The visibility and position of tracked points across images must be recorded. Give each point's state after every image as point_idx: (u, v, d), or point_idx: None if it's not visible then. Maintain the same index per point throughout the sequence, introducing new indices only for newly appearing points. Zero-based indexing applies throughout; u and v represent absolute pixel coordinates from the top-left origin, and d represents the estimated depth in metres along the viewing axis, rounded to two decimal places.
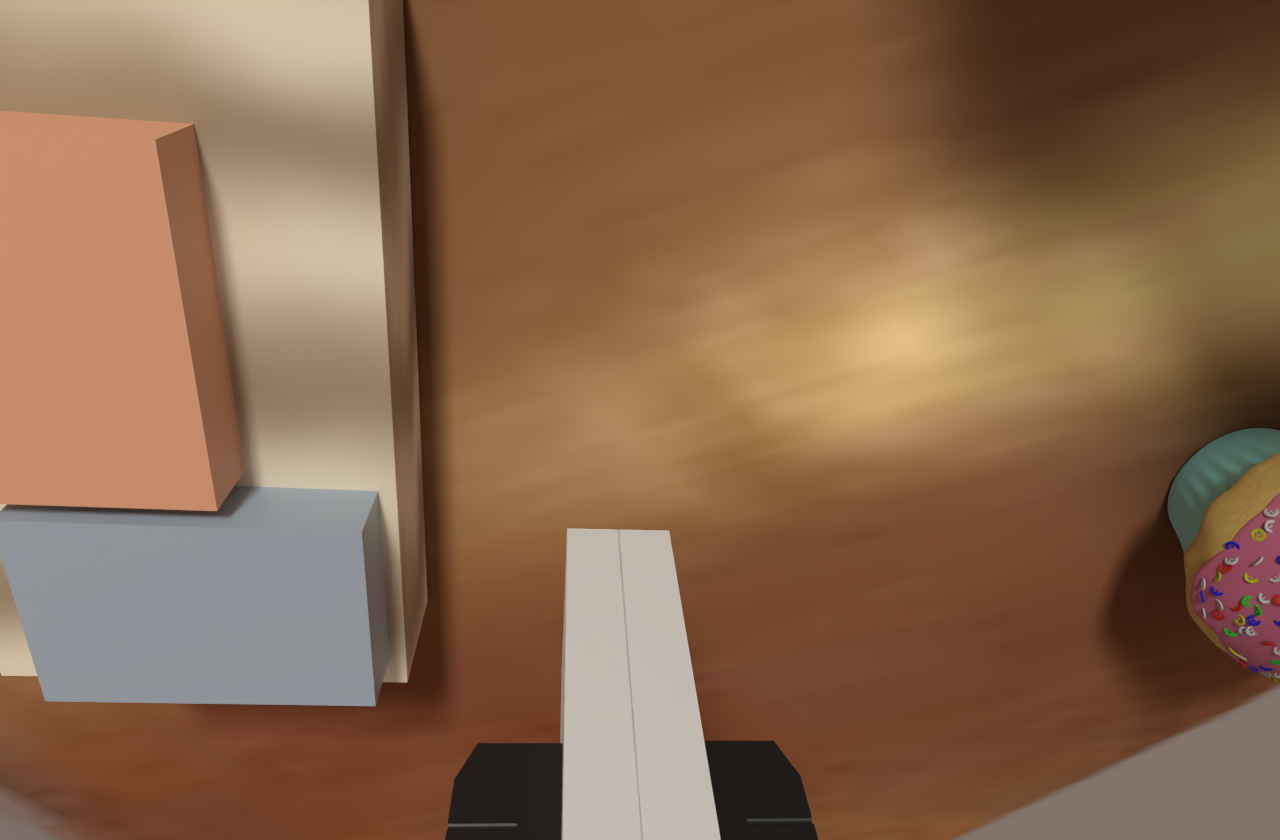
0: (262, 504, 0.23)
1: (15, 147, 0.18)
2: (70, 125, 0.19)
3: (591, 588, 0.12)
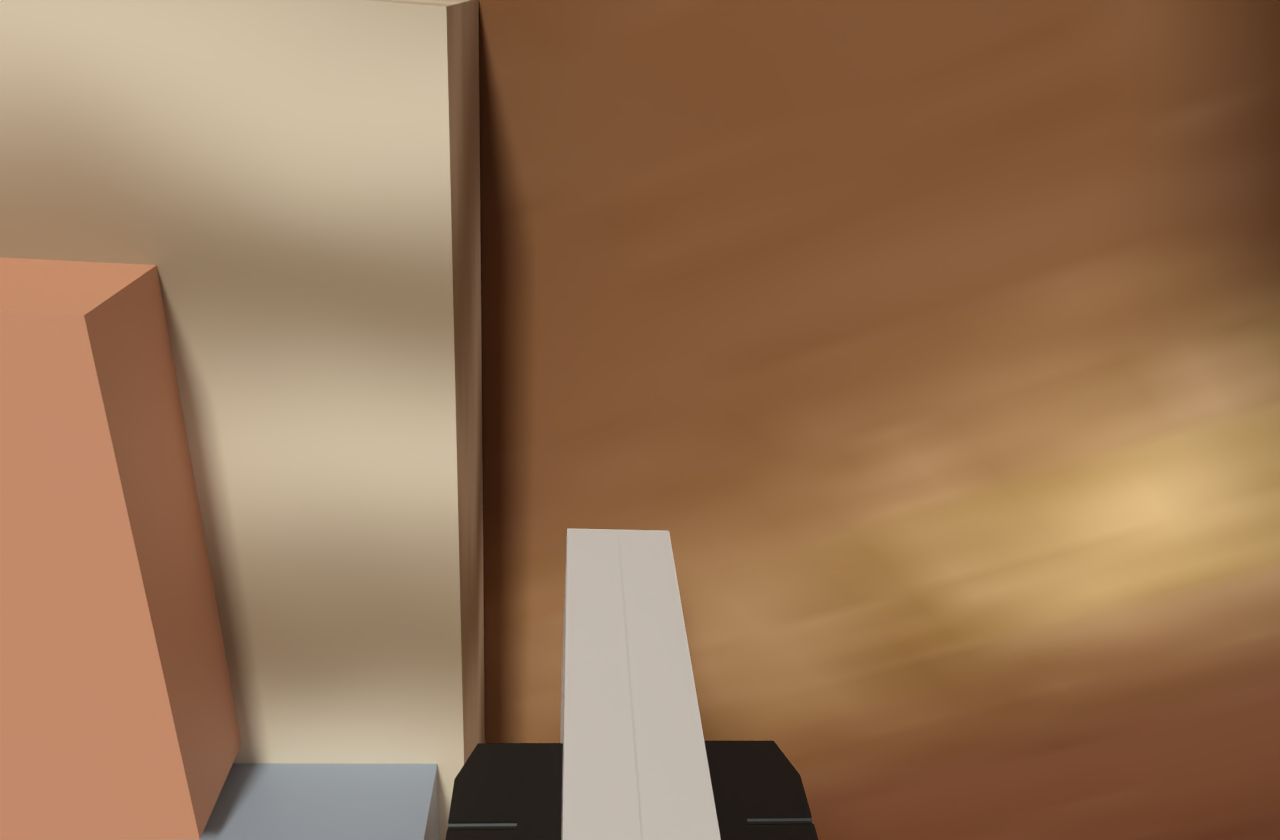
0: (268, 801, 0.16)
1: None
2: None
3: (591, 587, 0.12)
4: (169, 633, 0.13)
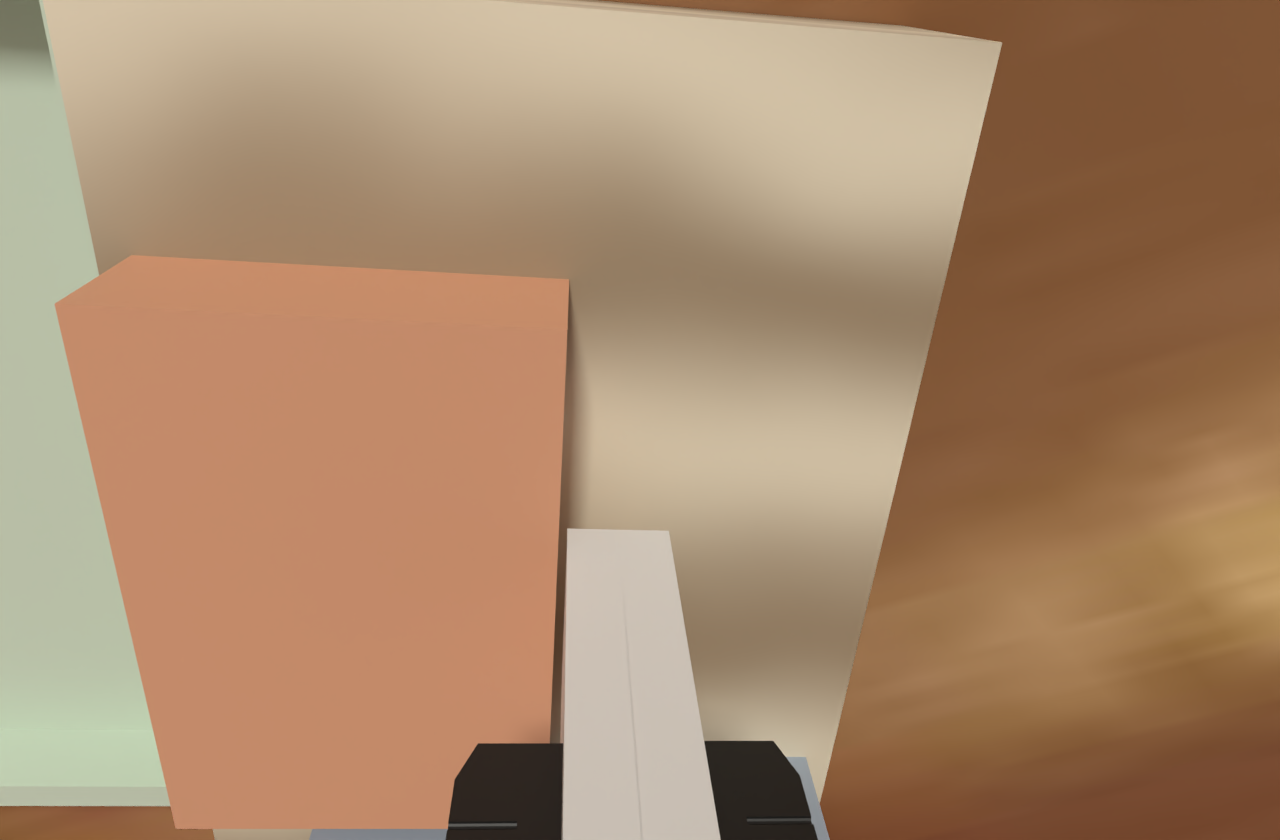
0: None
1: (338, 344, 0.11)
2: (407, 297, 0.11)
3: (591, 587, 0.12)
4: None
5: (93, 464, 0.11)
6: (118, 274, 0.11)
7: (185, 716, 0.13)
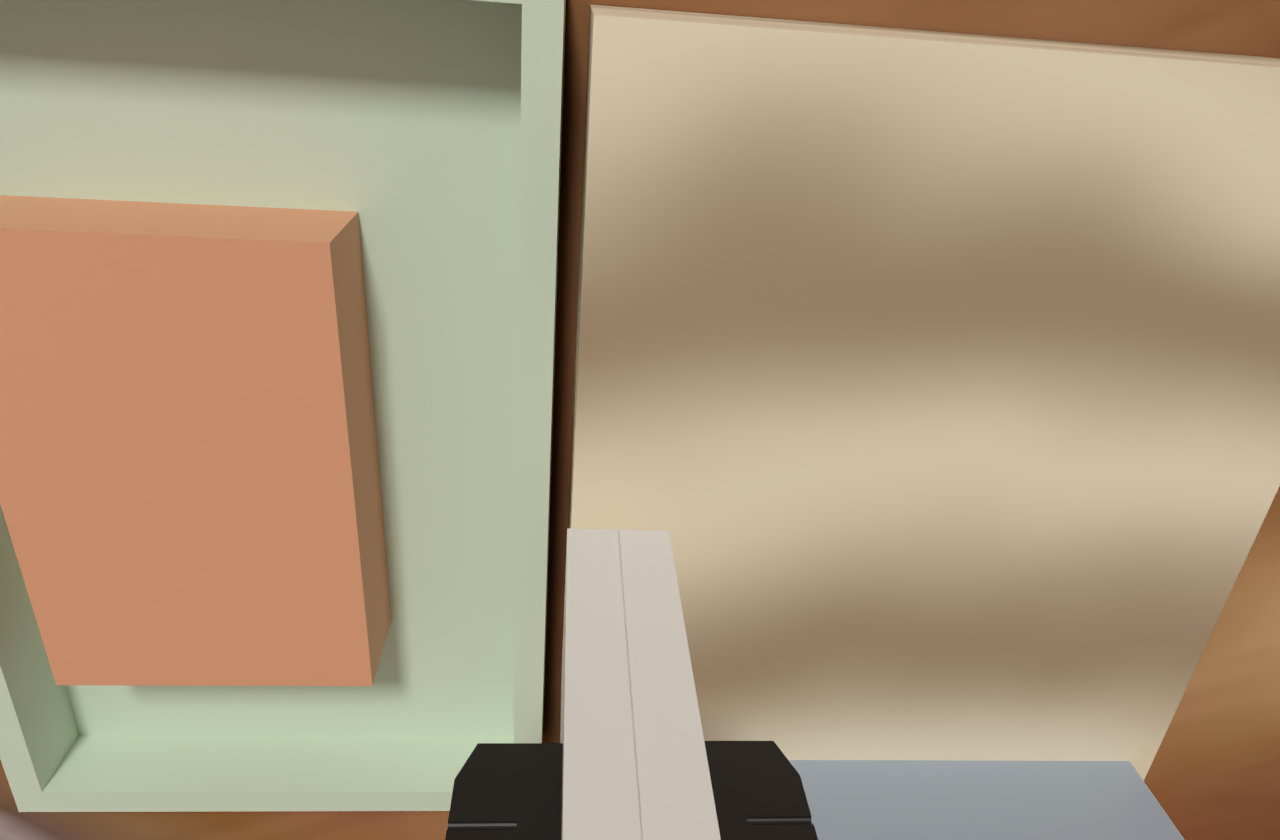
0: (1014, 795, 0.17)
1: None
2: (97, 213, 0.14)
3: (591, 587, 0.12)
4: None
5: (367, 332, 0.16)
6: (329, 228, 0.14)
7: None
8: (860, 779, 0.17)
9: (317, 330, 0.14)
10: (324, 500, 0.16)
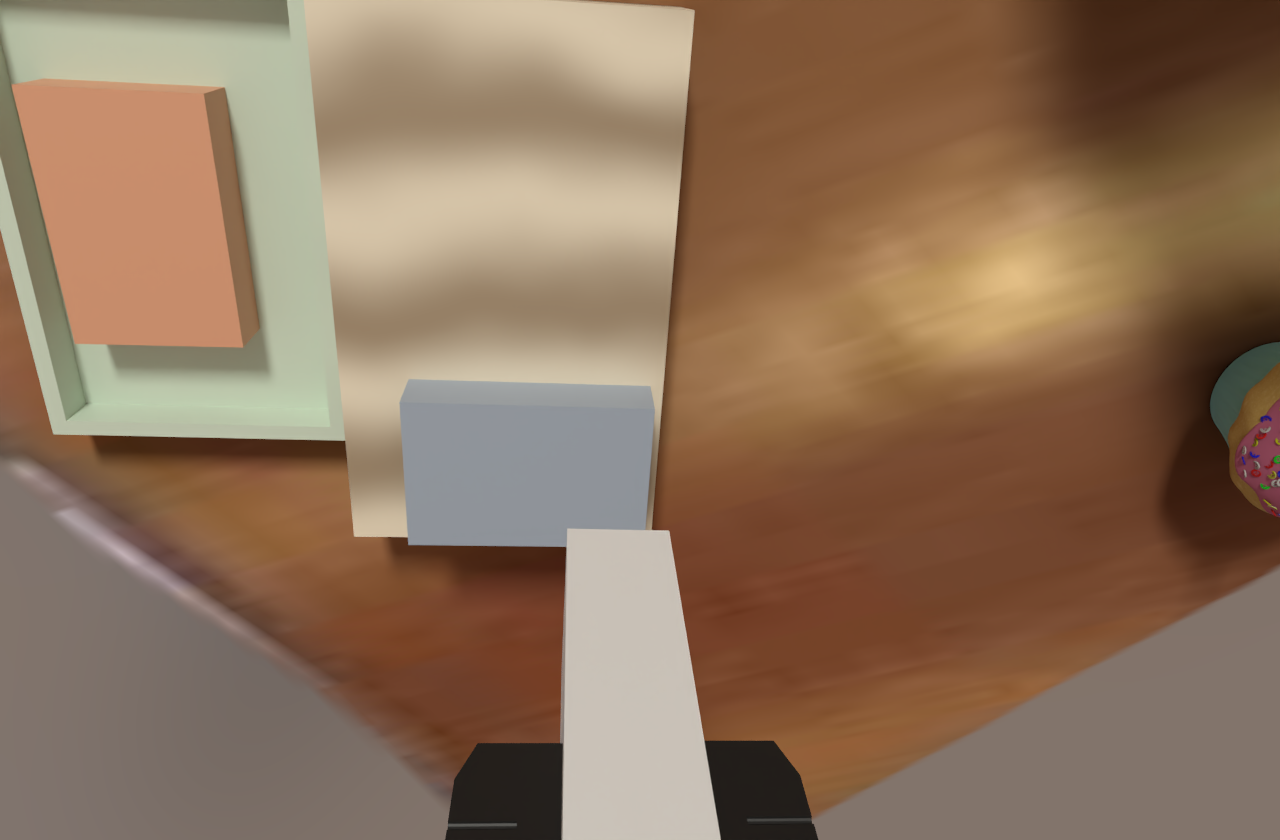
0: (576, 393, 0.33)
1: None
2: (95, 84, 0.30)
3: (591, 587, 0.12)
4: None
5: (233, 152, 0.32)
6: (206, 90, 0.30)
7: None
8: (496, 386, 0.33)
9: (201, 138, 0.30)
10: (209, 232, 0.31)
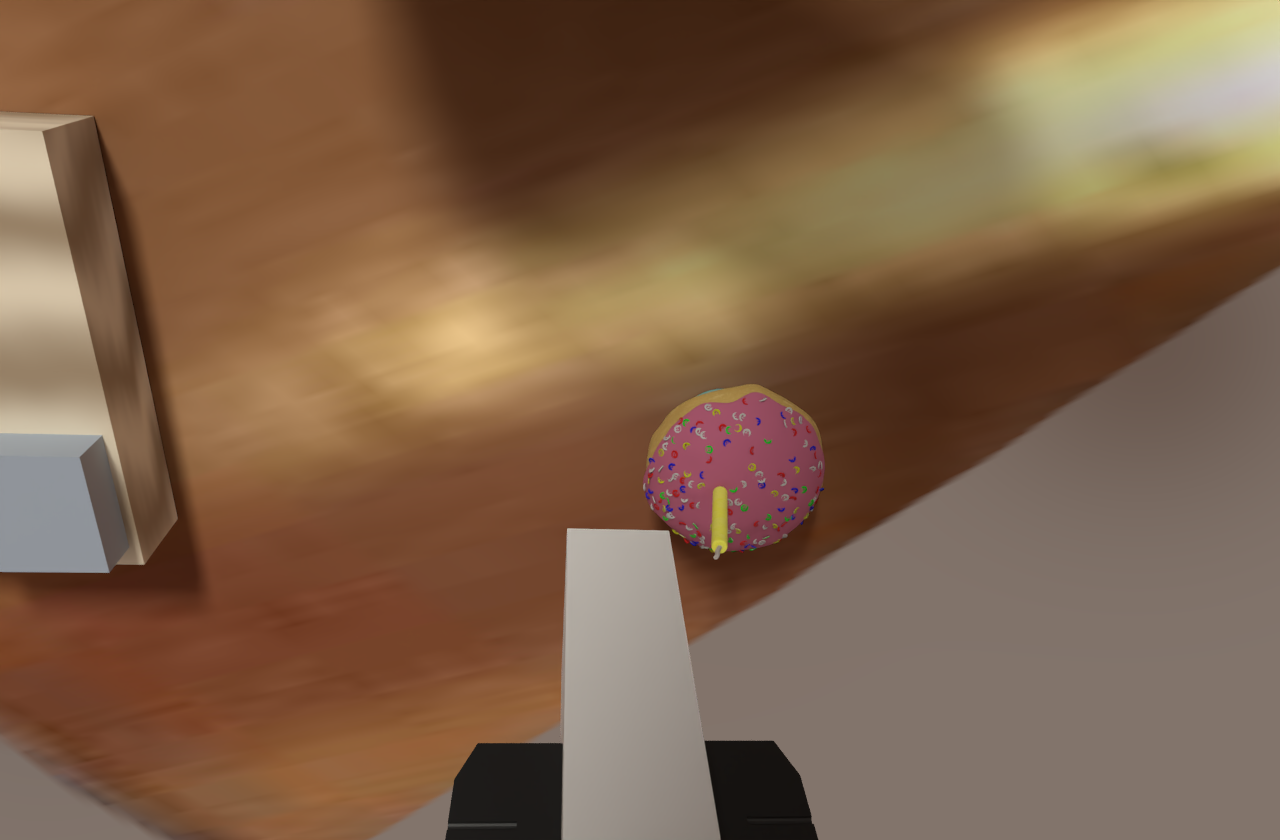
0: (24, 443, 0.38)
1: None
2: None
3: (591, 587, 0.12)
4: None
5: None
6: None
7: None
8: None
9: None
10: None
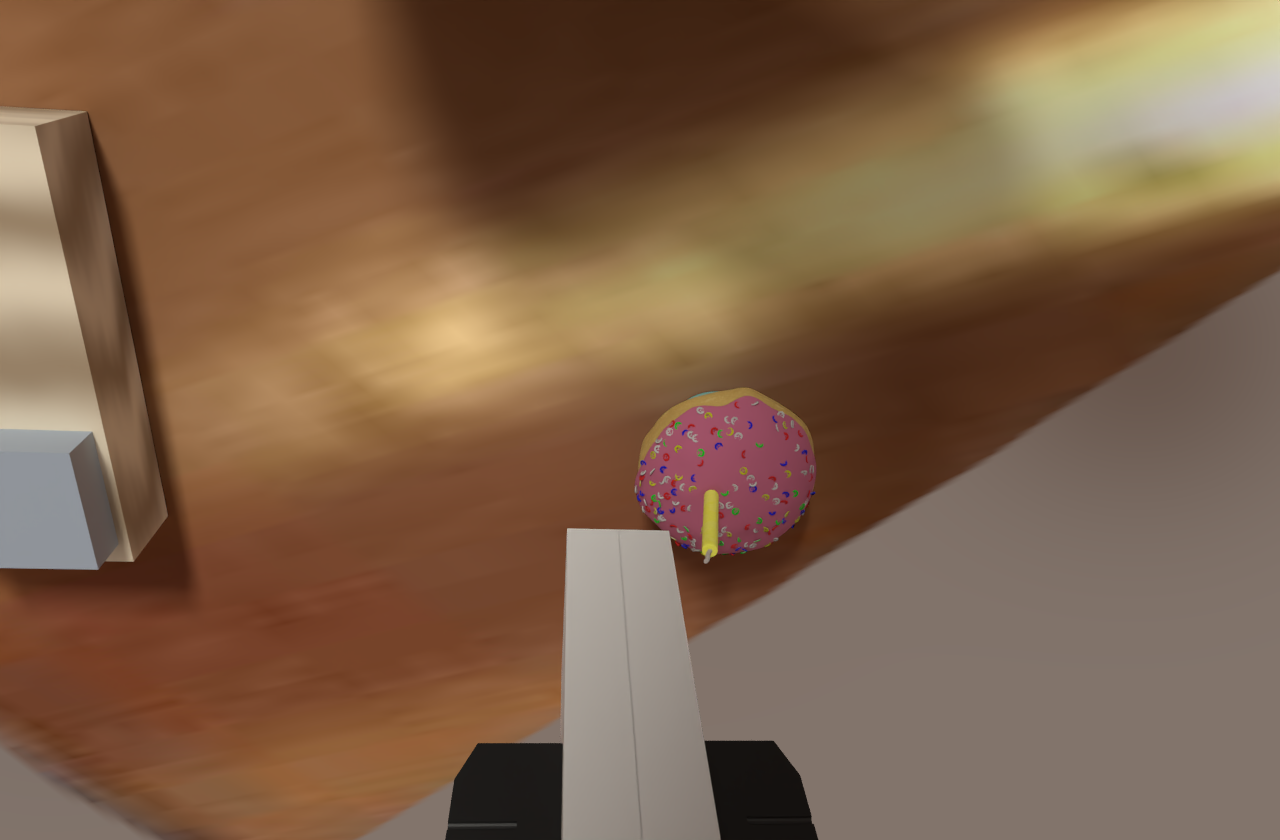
0: (13, 438, 0.38)
1: None
2: None
3: (591, 587, 0.12)
4: None
5: None
6: None
7: None
8: None
9: None
10: None
